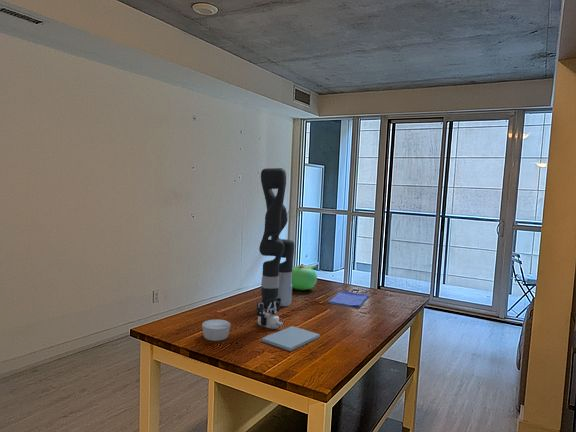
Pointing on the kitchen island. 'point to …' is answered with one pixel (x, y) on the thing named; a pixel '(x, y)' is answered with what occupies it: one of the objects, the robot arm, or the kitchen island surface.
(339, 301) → the dish towel
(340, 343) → the kitchen island surface
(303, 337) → the cutting board
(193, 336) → the kitchen island surface
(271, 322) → the rounded plug
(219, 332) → the ramekin
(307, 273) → the green apple
